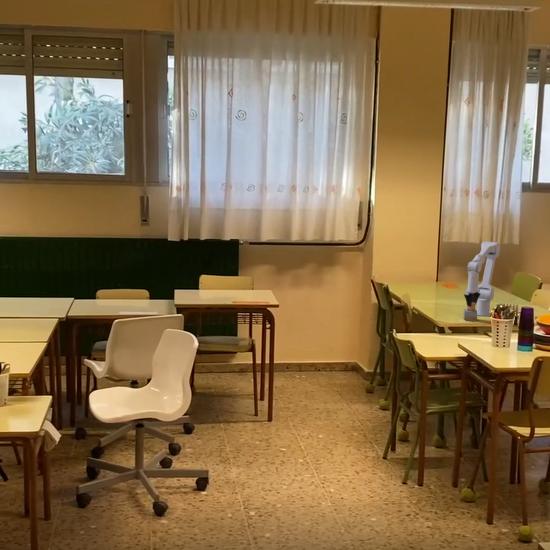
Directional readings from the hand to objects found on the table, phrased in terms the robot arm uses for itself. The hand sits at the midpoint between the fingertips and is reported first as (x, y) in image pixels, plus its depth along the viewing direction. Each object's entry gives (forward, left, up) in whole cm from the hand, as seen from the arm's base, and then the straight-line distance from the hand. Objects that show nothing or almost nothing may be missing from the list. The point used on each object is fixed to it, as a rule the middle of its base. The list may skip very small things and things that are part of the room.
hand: (471, 305), depth 401 cm
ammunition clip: (+5, +20, -9) cm, 22 cm away
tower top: (0, 0, -6) cm, 6 cm away
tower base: (0, 0, -9) cm, 9 cm away
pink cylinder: (0, 0, -3) cm, 3 cm away
